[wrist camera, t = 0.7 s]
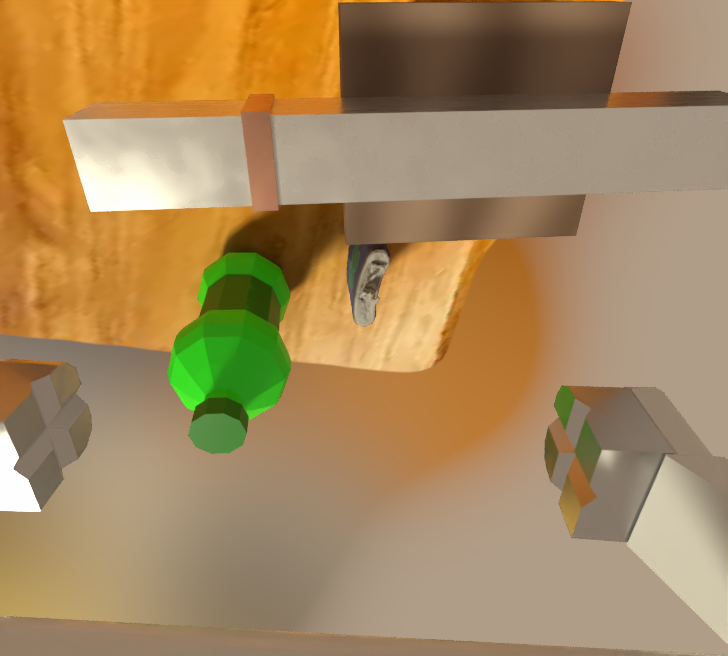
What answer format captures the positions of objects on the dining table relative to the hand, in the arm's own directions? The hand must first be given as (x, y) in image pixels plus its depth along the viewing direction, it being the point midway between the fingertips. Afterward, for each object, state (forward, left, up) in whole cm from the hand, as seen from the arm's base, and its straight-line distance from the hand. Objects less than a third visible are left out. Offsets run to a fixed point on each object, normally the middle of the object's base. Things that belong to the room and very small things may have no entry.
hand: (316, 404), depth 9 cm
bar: (-2, +5, -21) cm, 22 cm away
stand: (-4, +8, -47) cm, 48 cm away
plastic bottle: (+23, +4, -47) cm, 53 cm away
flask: (+14, +14, -48) cm, 52 cm away
